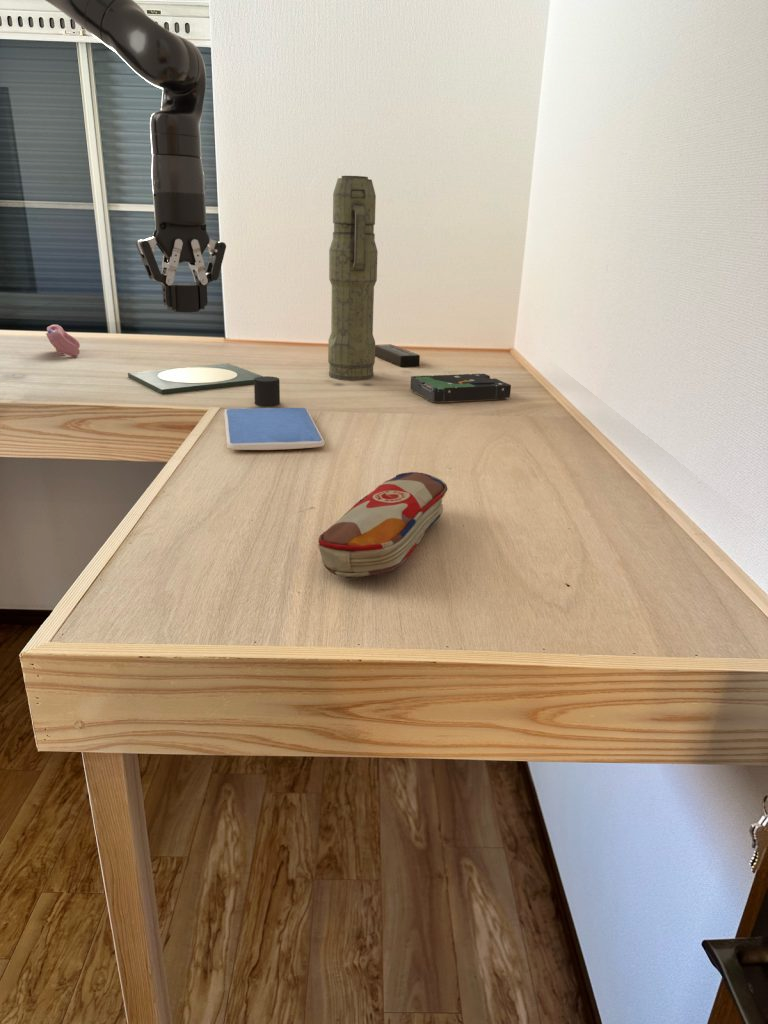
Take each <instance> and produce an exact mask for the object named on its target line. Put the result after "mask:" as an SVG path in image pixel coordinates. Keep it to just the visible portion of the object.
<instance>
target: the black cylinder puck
mask: <svg viewBox="0 0 768 1024" xmlns="http://www.w3.org/2000/svg"><path fill="white" fill-rule="evenodd" d="M261 376H262V377H256V378H254V384H253V390H254V391H253V392H254V394H253V395H254V404H255V405H256V406H258V407H259V406H260V407H275V406H279V405H280V403H281V394H280V393H281V391H280V390H281V389H280V388H281V387H280V378H279V377H277V376H271V375H269V376H268V375H267V376H265V375H264V376H263V375H261Z"/></svg>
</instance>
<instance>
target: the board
mask: <svg viewBox="0 0 768 1024" xmlns="http://www.w3.org/2000/svg"><path fill="white" fill-rule="evenodd" d="M262 376H263V375H261V374H258V373H256V372H253V371H250V370H247V369H244V368H242V367H239V366H237V365H234V364H231V363H219V364H210V365H209V364H208V365H207V364H206V365H198V366H197V365H195V366H185V367H174V368H164V369H152V370H142V371H140V370H139V371H130V372H127V377H128V378H129V379H131V380H133V381H135V382H138V383H139V384H141V385H143V386H145V387H146V388H149V389H150V390H153V391H155V392H157V393H158V394H161V395H167V394H168V393H169V394H176V393H177V392H178V393H185V392H186V391H187V392H194V391H193V390H196V391H203V390H204V389H205V390H213V389H221V388H230V387H239V386H248V385H254V378H256V377H262ZM187 392H186V393H187Z"/></svg>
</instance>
